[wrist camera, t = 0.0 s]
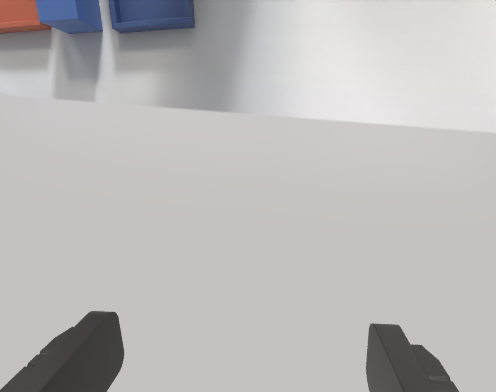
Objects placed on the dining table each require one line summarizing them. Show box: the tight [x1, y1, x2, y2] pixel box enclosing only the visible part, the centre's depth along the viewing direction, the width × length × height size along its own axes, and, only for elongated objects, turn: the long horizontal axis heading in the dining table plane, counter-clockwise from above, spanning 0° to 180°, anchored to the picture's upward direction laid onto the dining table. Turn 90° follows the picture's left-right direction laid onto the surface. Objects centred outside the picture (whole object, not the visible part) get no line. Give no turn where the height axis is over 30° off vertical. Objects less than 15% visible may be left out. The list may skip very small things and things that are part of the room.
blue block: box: [36, 0, 103, 34], centre depth 33 cm, size 4×4×4 cm
